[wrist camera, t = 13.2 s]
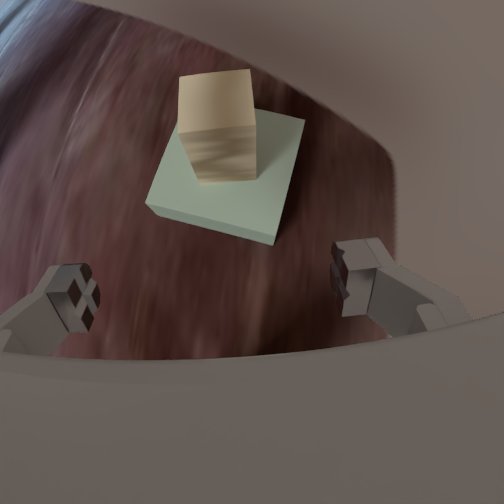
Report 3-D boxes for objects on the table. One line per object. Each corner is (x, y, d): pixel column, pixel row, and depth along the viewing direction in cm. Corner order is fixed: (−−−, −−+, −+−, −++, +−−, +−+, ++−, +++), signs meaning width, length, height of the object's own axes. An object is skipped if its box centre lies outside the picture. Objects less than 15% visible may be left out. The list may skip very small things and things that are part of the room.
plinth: (157, 215, 32) (145, 202, 28) (195, 117, 34) (188, 97, 30) (273, 245, 31) (275, 236, 27) (300, 139, 33) (305, 120, 29)
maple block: (199, 185, 28) (177, 133, 19) (198, 137, 29) (179, 77, 20) (256, 179, 28) (256, 125, 19) (251, 132, 29) (249, 69, 20)
